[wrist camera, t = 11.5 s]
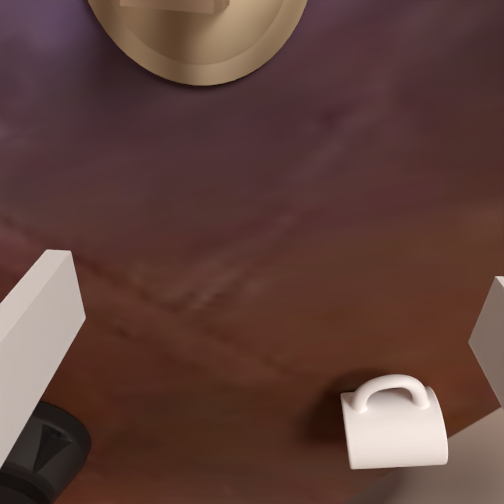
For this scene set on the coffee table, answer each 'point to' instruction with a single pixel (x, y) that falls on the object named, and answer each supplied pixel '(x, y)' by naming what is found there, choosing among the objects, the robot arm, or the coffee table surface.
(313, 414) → the coffee table surface
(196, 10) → the block
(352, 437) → the mug
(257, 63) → the plate
